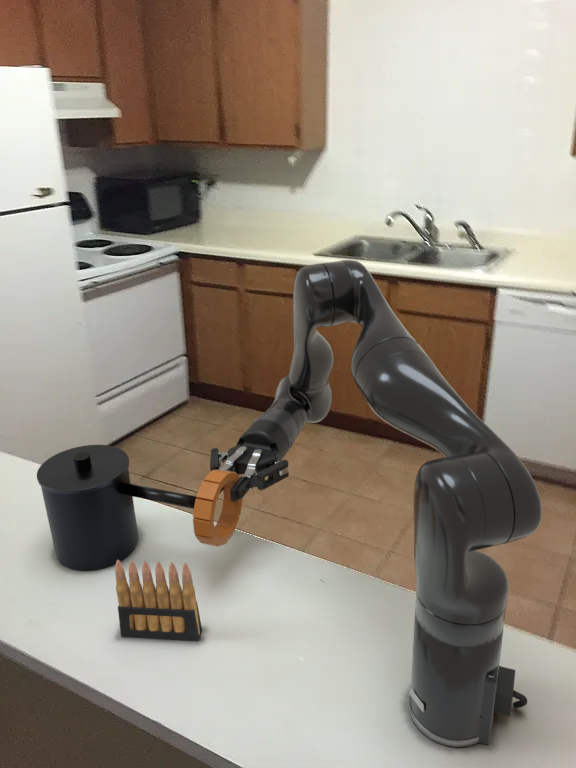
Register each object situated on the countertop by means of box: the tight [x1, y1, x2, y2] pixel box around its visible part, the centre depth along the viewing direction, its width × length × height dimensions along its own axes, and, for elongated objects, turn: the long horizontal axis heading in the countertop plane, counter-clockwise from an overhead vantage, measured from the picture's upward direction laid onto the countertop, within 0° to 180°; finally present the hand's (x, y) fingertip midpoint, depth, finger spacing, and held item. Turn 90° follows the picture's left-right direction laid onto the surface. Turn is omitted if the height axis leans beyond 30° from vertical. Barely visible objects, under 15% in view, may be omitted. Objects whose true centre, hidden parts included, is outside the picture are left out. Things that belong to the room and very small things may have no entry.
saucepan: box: [36, 444, 197, 572], centre depth 102 cm, size 28×14×16 cm, turn 69°
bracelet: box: [192, 470, 243, 547], centre depth 95 cm, size 3×10×10 cm, turn 159°
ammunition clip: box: [114, 559, 203, 642], centre depth 87 cm, size 11×2×12 cm, turn 84°
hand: (222, 494), depth 96 cm, fingers closed on bracelet, 2 cm apart
